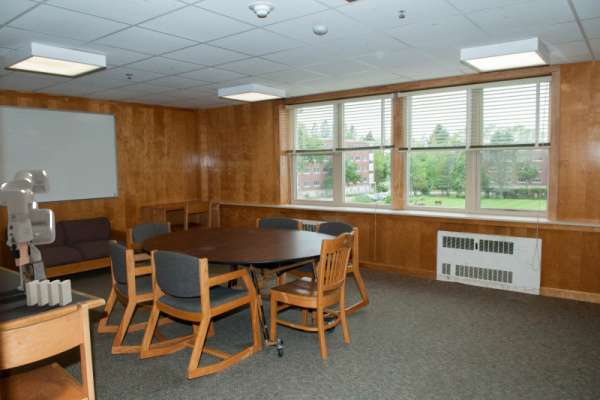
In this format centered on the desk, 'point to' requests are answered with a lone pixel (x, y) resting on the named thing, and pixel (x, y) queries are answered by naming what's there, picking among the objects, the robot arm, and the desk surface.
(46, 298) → the domino
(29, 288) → the domino
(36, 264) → the coffee box
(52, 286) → the domino
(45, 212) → the robot arm
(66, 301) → the domino
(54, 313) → the desk surface
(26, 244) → the domino
